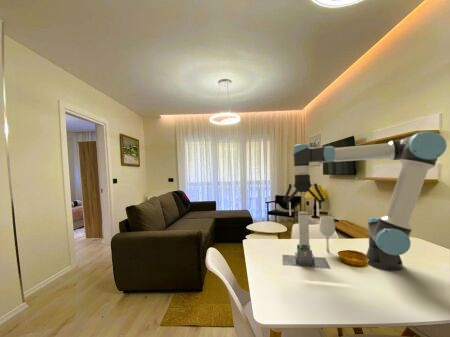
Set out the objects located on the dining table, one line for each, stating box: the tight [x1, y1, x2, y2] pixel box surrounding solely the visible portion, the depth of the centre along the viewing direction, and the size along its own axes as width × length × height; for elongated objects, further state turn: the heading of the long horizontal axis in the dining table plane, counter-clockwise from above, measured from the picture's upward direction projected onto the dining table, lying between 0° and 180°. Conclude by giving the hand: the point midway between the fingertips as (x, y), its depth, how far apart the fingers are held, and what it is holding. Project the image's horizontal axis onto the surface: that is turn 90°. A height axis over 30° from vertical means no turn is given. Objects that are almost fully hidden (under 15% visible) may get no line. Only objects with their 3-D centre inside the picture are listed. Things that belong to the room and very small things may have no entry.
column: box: [297, 211, 311, 250], centre depth 113 cm, size 5×5×19 cm
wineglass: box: [318, 215, 336, 254], centre depth 125 cm, size 9×9×21 cm
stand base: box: [282, 243, 331, 270], centre depth 113 cm, size 22×14×10 cm, turn 76°
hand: (304, 215), depth 113 cm, fingers open, 13 cm apart
